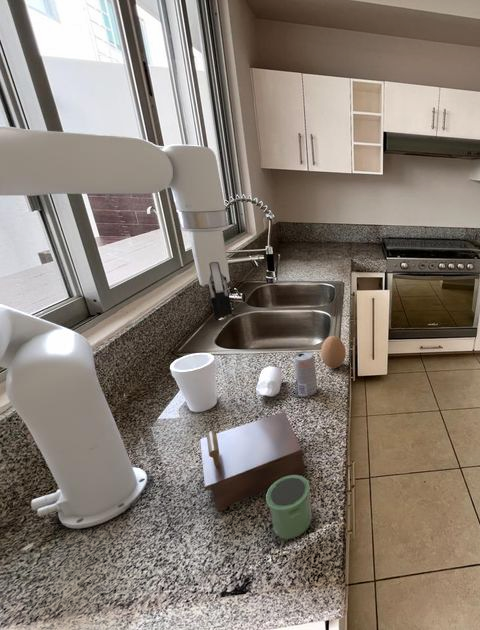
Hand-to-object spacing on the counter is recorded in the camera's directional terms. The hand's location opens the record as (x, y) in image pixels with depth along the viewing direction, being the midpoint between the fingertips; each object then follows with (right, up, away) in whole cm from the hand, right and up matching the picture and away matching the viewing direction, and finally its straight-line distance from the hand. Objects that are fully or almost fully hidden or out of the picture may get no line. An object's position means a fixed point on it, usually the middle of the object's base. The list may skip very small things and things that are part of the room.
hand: (223, 314), depth 69 cm
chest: (+6, -33, +3) cm, 33 cm away
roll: (-2, -23, +27) cm, 36 cm away
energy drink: (+8, -23, +28) cm, 37 cm away
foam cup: (-18, -24, +22) cm, 37 cm away
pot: (+17, -37, -8) cm, 42 cm away
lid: (+6, -27, 0) cm, 27 cm away
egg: (+12, -17, +42) cm, 47 cm away
